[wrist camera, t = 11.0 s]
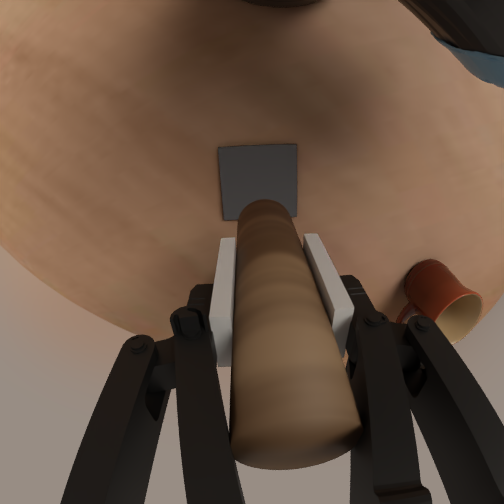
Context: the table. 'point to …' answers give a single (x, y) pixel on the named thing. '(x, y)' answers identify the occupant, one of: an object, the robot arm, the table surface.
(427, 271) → the mug
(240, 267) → the brown cylinder
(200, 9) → the table surface
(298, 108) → the table surface
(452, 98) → the table surface
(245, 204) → the coaster
